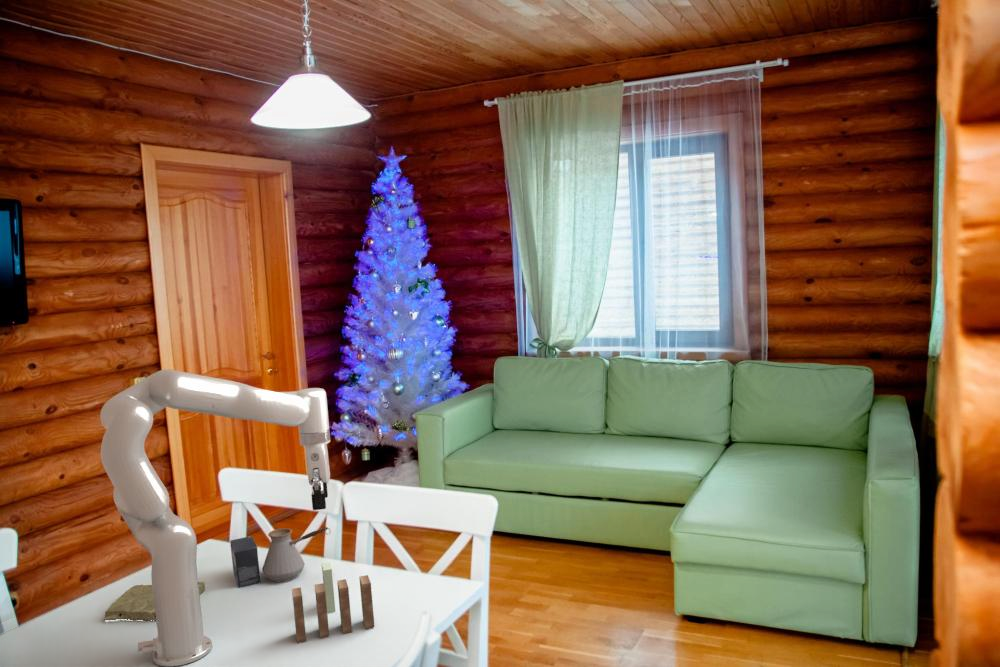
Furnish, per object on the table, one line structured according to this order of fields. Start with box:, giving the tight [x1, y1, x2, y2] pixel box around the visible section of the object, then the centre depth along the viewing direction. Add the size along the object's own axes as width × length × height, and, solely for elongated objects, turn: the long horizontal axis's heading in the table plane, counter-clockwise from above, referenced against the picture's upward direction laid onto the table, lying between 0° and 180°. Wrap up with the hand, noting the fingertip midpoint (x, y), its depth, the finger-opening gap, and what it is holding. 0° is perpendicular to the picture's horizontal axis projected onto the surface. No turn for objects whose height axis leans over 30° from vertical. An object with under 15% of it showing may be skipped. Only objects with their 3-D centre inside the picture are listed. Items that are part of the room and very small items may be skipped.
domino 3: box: [321, 561, 336, 614], centre depth 200 cm, size 2×5×11 cm, turn 18°
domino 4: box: [336, 579, 353, 635], centre depth 188 cm, size 2×5×11 cm, turn 18°
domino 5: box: [358, 574, 375, 630], centre depth 190 cm, size 2×5×11 cm, turn 18°
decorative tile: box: [103, 581, 206, 622], centre depth 208 cm, size 19×20×4 cm
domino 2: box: [314, 582, 330, 639], centre depth 187 cm, size 2×5×11 cm, turn 18°
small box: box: [230, 535, 262, 589], centre depth 222 cm, size 11×6×10 cm, turn 25°
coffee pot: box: [262, 526, 331, 583], centre depth 221 cm, size 21×12×15 cm, turn 71°
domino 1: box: [291, 587, 307, 644], centre depth 185 cm, size 2×5×11 cm, turn 17°
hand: (320, 503), depth 203 cm, fingers open, 9 cm apart
